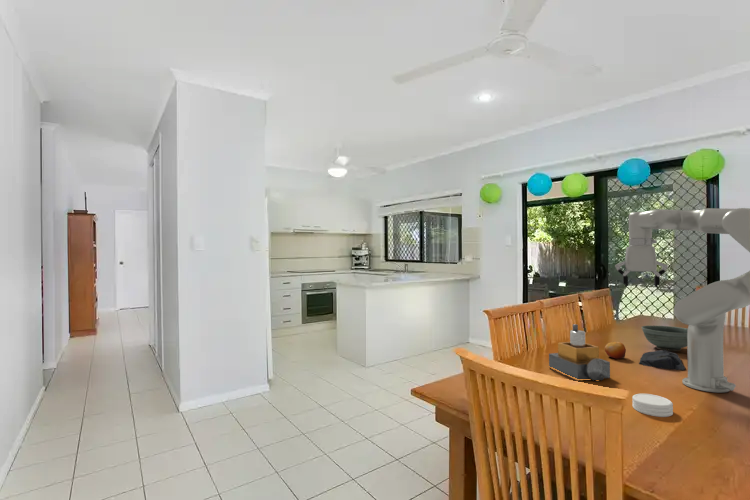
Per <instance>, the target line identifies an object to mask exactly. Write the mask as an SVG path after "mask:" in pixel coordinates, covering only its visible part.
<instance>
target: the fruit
mask: <svg viewBox="0 0 750 500" xmlns="http://www.w3.org/2000/svg"><path fill="white" fill-rule="evenodd" d="M604 352H605V353H606V355H607V357H609V356H610V357H609V358H613V359H615V360H620V359H625V357H626V346H625V345H624V344H623V343H622V342H620V341H612V342H608V343H606V344H605V346H604Z"/></svg>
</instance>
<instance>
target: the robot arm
mask: <svg viewBox="0 0 750 500" xmlns="http://www.w3.org/2000/svg"><path fill="white" fill-rule="evenodd" d="M653 230H669V231H670V230H675V231H676V230H677V231H694V232H699V233H703V234H719V235H722V234H723V235H729V236H730V237H731V238H733V239H734V240H735V241H736V242H737V243H738V244H739V245H741V246H742V247H743V248H744V249H745V250H746V251H747V252H749V253H750V208H747V207H739V208H714V207H713V208H711V207H710V208H709V207H708V208H703V209H697V210H696V209H692V210H684V209H683V210H682V209H681V210H680V209H660V208H659V209H658V208H656V209H651V210H646V211H633V212H630V213H629V214H628V246H626V249H625V257H624V261H621V262H618V263H617V264H615V265H614V267H615V269H616V270H617V271H618V273H619V274H620V275H622V278H623V279H622V283H623V285H625V287H628V286H629V276H628V274H629V273H630V272H632V273H633V272H638V273H639V272H640V273H641V272H642V273H646V272H650V273H652V274H654V276H653V286H654V287H656V288H658V286H659V285H660V277H661V276H662V275H663V274H665V273H666V271H667V269H668V267H669V265H668V264H665V263H663V262H660V261H658V260H657V254H656V249H655V246H653V245H654V244H657V239H653ZM623 266H624V269H625V270H624V271H623V270H622V268H621V267H623ZM658 266H659V267H661V269H660V270H658ZM657 270H658V271H657ZM748 306H750V270H749V271H747V272H745V273H743V274H741V275H739V276H736V277H734V278H730V279H723V280H721V279H720V280H718V281H714V282H712V283H709V284H706V285H704V286H702V287H701V288H699V289H697V290H695V291H693V292H692V293H689V294H688V295H686V296H684V297H682V298H681V299H679V300H678V301H677V302H676V303H675V305H674V308H673V313H674V314H673V315H674V317H675V318H676V319H677V320H678V321H679V322H680V323H682V324H684V325H688V327H687V329H688V332H687V347H686V348H687V377H684V378H682V379H681V381H682V384H683V385H685V386H687V387H688V388H691V389H694V390H698V391H702V392H710V393H717V394H718V393H722V394H723V393H728V392H730V391H734V390H735V388H736V386H737V385H736V383H733V382H729V381H728V377H727V376H725V374H724V371H725V370H724V366H725V365H724V328H725V327H724V326H725V322H726V313H729V312H731V311H733V310H739V309H743V308H746V307H748Z"/></svg>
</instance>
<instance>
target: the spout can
mask: <svg viewBox="0 0 750 500" xmlns="http://www.w3.org/2000/svg"><path fill="white" fill-rule="evenodd" d="M578 328H579V324H578V323H577V324H574V323H573V324H572V329H571V330H569V340H570V341H569V342H570V346H572V347H575V348H584V347H585V343H586V331H584V330H579V329H578Z"/></svg>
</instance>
